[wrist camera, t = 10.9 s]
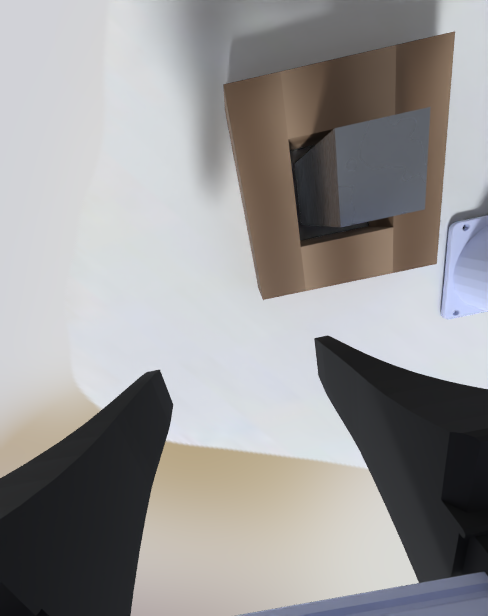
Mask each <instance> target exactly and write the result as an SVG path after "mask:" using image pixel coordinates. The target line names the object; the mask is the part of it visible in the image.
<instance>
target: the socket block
mask: <svg viewBox="0 0 488 616" xmlns="http://www.w3.org/2000/svg"><path fill="white" fill-rule="evenodd" d="M454 38H455V32H450V33H446V34H442V35H437V36H433V37H429V38H424V39H420V40H416V41H411V42H407V43H403V44H398V45H394V46H389V47H385V48H381V49H376V50H372V51H368V52H363V53H359V54H355V55H350V56H346V57H342V58H337V59H333V60H328V61H324V62H320V63H315V64H311V65H307V66H302V67H298V68H294V69H289V70H285V71H281V72H276V73H272V74H267V75H263V76H259V77H254V78H250V79H246V80H241V81H237V82H233V83H228V84H224V102H225V112H226V118H227V123H228V128H229V134H230V139H231V144H232V150H233V155H234V160H235V166H236V171H237V176H238V182H239V187H240V192H241V198H242V203H243V208H244V214H245V219H246V224H247V230H248V235H249V240H250V246H251V251H252V256H253V262H254V267H255V272H256V278H257V283H258V288H259V291H260V293H261V296H262V298H263V300H264V299H269V298H274V297H279V296H284V295H288V294H293V293H298V292H303V291H308V290H313V289H317V288H322V287H327V286H332V285H337V284H342V283H346V282H351V281H356V280H361V279H366V278H370V277H375V276H380V275H385V274H390V273H395V272H399V271H404V270H409V269H414V268H419V267H424V266H428V265H433V264H437V253H438V240H439V228H440V215H441V203H442V190H443V177H444V165H445V152H446V139H447V127H448V114H449V101H450V89H451V76H452V63H453V51H454ZM427 107H431V108H430V126H429V144H428V162H427V180H426V199H425V209H424V210H420V211H415V212H410V213H406V214H401V215H396V216H392V217H387V218H382V219H378V220H373V221H368V226H367V227H362V228H357V229H353V230H348V231H343V232H339V233H334V234H329V235H324V236H320V237H315V238H310V239H306V240H301V241H300V236H299V227H298V219H297V210H296V202H295V193H294V184H293V176H292V167H291V159H290V150H294V149H298V148H303V147H307V146H312V145H316V144H318V143H319V142H320V141H321V140H322V139H323V138H324V137H326V136H327V135H328V134H329V133H330V132H331V131H332V130H333V129H335V128H338V127H343V126H347V125H352V124H356V123H361V122H365V121H370V120H374V119H378V118H383V117H387V116H392V115H396V114H401V113H405V112H410V111H414V110H419V109H423V108H427Z"/></svg>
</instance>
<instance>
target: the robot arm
mask: <svg viewBox="0 0 488 616" xmlns="http://www.w3.org/2000/svg"><path fill="white" fill-rule="evenodd" d="M464 225H465V228H464V229H463V226H464ZM454 311H455V312H454ZM453 312H454V313H453ZM482 312H488V215H486V216H481V217H476V218H472V219H467V220H462V221H457V222H454V223H453V224H452V225H451V226H450V228H449V233H448V244H447V255H446V266H445V277H444V288H443V298H442V309H441V316H442V317H443V318H445V319H452V318H457V317H462V316H467V315H472V314H477V313H482ZM314 339H315V348H316V357H317V366H318V375H319V378H320V380H321V383H322V385H323V387H324V389H325V392H326V394H327V396H328V397H329V399H330V401H331V403H332V404H333V406H334V408H335V409H336V411H337V413H338V414H339V416H340V418H341V419H342V421H343V423H344V424H345V426H346V428H347V429H348V431H349V433H350V434H351V436H352V437H353V439H354V441H355V443H356V445H357V446H358V448H359V450H360V452H361V454H362V456H363V458H364V460H365V462H366V465H367V467H368V469H369V471H370V473H371V475H372V477H373V479H374V481H375V483H376V486H377V488H378V490H379V492H380V494H381V496H382V499H383V501H384V503H385V505H386V507H387V510H388V512H389V514H390V516H391V519H392V521H393V523H394V525H395V527H396V530H397V532H398V535H399V537H400V539H401V541H402V544H403V545H404V548H405V551H406V553H407V555H408V558H409V560H410V562H411V565H412V567H413V569H414V571H415V574H416V577H417V579H418V581H419V583H417V584H411V585H406V586H400V587H394V588H389V589H384V590H377V591H372V592H366V593H360V594H355V595H349V596H343V597H338V598H332V599H327V600H321V601H315V602H310V603H304V604H299V605H293V606H287V607H281V608H275V609H270V610H264V611H259V612H253V613H248V614H242V615H236V616H488V389H483V388H477V387H472V386H467V385H462V384H458V383H453V382H449V381H445V380H441V379H437V378H433V377H429V376H425V375H422V374H419V373H415V372H412V371H409V370H406V369H403V368H400V367H397V366H394V365H392V364H389V363H386V362H384V361H381V360H379V359H376V358H374V357H372V356H369V355H367V354H365V353H363V352H361V351H359V350H356V349H354V348H352V347H350V346H348V345H346V344H344V343H342V342H340V341H338V340H336V339H334V338H332V337H330V336H323V337H318V338H314ZM172 409H173V403H172V400H171V398H170V395H169V392H168V390H167V387H166V385H165V382H164V379H163V377H162V374H161V372H160V370H155V371H151V372H147V373H145V374H144V375H142V376H141V377H140V378H139V379H137V380H136V381H135V382H134V383H133V384H132V385H130V386H129V387H128V388H127V389H126V390H125V391H124V392H122V393H121V394H120V395H119V396H118V397H117V398H115V399H114V400H113V401H112V402H111V403H110V404H108V405H107V406H106V407H105V408H104V409H102V410H101V411H100V412H99V413H97V415H95V416H94V417H93V418H91V419H90V420H89V421H88V422H86V423H85V424H84V425H83V426H81V427H80V428H78V429H77V430H76V431H74V432H73V433H71V434H70V435H69V436H67V437H66V438H64V439H63V440H62V441H60V442H59V443H57V444H56V445H54V446H53V447H51V448H49V449H48V450H47V451H45V452H43V453H42V454H40V455H39V456H37V457H35V458H34V459H32V460H31V461H29V462H28V463H26V464H24V465H23V466H21V467H19V468H18V469H16V470H14V471H12V472H11V473H9V474H7V475H6V476H4V477H2V478H0V616H130V614H131V606H132V599H133V590H134V584H135V578H136V571H137V564H138V558H139V551H140V546H141V540H142V534H143V528H144V523H145V517H146V513H147V508H148V502H149V498H150V493H151V488H152V485H153V481H154V477H155V474H156V471H157V467H158V464H159V461H160V457H161V454H162V451H163V447H164V444H165V441H166V437H167V434H168V431H169V427H170V422H171V416H172Z"/></svg>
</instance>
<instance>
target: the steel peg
mask: <svg viewBox="0 0 488 616" xmlns="http://www.w3.org/2000/svg"><path fill="white" fill-rule="evenodd" d="M430 108H431V107H427V108H423V109H419V110H414V111H410V112H405V113H401V114H396V115H392V116H387V117H383V118H378V119H374V120H370V121H365V122H361V123H356V124H352V125H347V126H343V127H338V128H335V129H333V130H332V131H331V132H330V133H329V134H328V135H327V136H326V137H324V138H323V139H322V140H321V141H320V142H319V143H318V144H316V145H315V146H314V147H313V148H312V149H311V150H310V151H309V152H307V153H306V154H305V155H304V156H303V157H302V158H301V159H300V160H298V161H297V162H296V163H295V164H294V168H295V177H296V185H297V194H298V203H299V212H300V220H301V225H314V226H328V227H345V226H350V225H354V224H359V223H364V222H368V221H373V220H378V219H382V218H387V217H392V216H396V215H401V214H406V213H410V212H415V211H420V210H424V209H425V199H426V180H427V162H428V144H429V126H430Z"/></svg>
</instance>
